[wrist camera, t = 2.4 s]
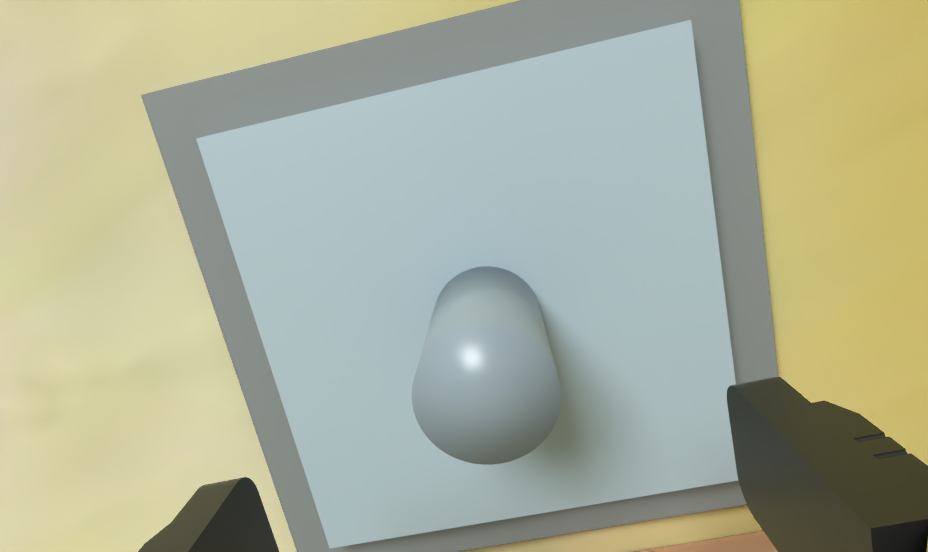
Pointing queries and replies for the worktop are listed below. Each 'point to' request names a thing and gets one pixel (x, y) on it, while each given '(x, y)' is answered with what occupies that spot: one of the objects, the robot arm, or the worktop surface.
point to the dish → (724, 545)
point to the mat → (431, 59)
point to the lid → (491, 288)
